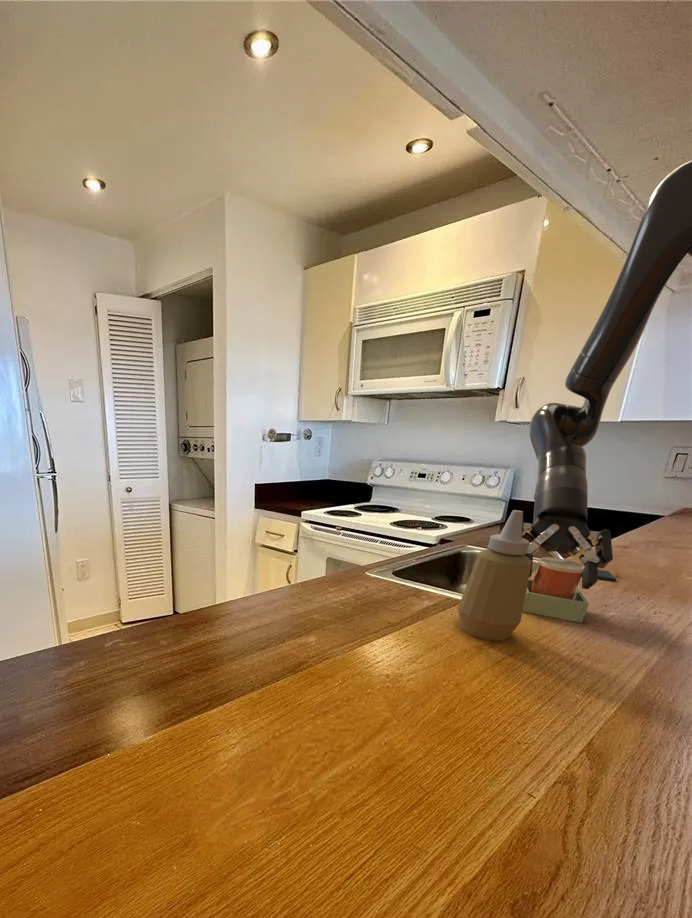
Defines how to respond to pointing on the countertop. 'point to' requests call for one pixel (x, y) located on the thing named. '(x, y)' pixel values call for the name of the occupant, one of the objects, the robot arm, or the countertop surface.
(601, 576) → the drying mat
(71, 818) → the countertop surface
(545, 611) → the green shallow open box
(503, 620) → the squeeze bottle
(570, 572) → the tumbler
